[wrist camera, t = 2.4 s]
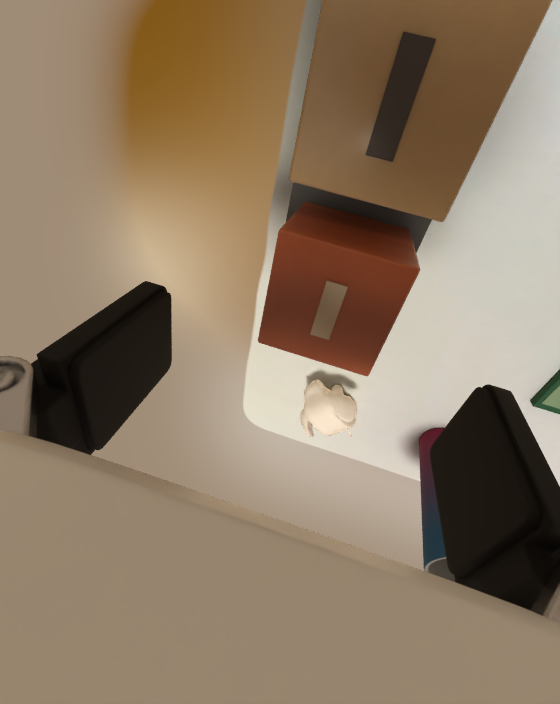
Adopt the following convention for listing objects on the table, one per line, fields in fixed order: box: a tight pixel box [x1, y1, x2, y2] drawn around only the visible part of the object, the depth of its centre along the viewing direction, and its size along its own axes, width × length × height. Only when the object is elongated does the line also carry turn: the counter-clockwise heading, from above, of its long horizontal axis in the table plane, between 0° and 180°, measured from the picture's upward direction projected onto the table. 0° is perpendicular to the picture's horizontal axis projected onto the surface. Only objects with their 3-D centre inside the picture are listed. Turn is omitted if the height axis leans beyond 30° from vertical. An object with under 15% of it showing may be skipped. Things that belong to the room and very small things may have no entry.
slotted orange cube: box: [258, 201, 420, 376], centre depth 15 cm, size 5×5×5 cm
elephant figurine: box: [301, 379, 357, 437], centre depth 38 cm, size 7×8×6 cm
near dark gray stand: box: [286, 0, 552, 253], centre depth 16 cm, size 20×6×19 cm, turn 169°
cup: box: [419, 428, 455, 582], centre depth 34 cm, size 7×7×15 cm
